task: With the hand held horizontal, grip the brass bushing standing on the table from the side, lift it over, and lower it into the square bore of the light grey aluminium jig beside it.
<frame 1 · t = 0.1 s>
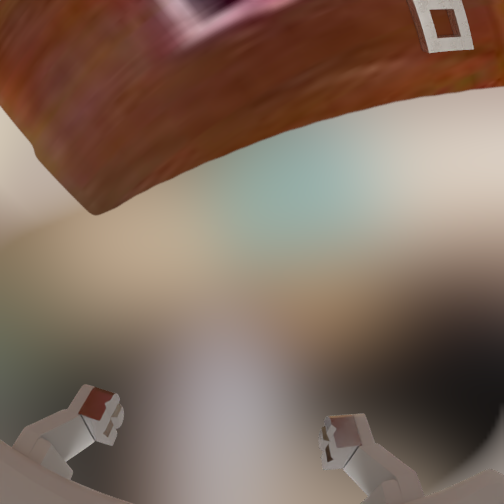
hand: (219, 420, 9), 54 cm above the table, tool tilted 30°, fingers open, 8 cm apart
aluminium jig: (438, 21, 31), on the table
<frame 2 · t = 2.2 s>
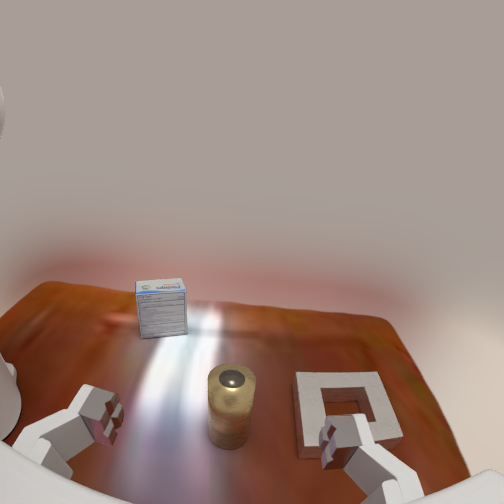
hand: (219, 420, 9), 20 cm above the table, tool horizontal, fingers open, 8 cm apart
brass bushing: (228, 434, 28), on the table
medicine box: (163, 331, 46), on the table
aluminium jig: (340, 418, 31), on the table
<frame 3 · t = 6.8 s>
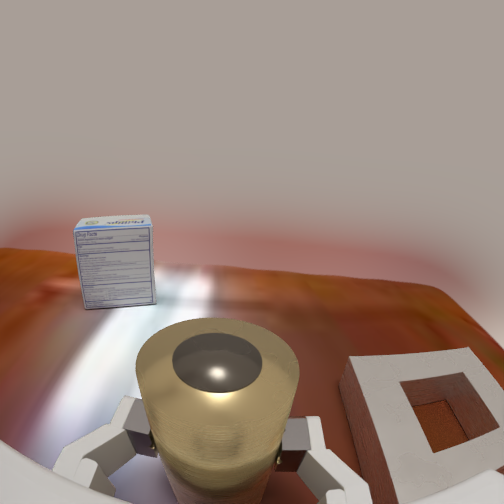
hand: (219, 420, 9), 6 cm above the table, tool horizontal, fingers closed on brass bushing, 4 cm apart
brass bushing: (218, 492, 11), on the table, touching gripper
medicine box: (120, 300, 28), on the table
aluminium jig: (431, 434, 13), on the table
when the fingers open (8 cm above the table, at t = 12.3 s): brass bushing drops 1 cm, resting in aluminium jig.
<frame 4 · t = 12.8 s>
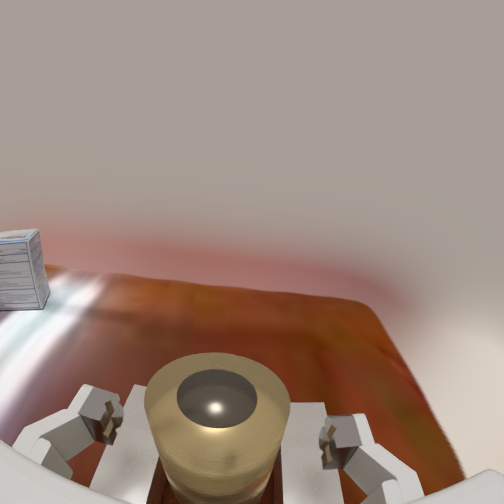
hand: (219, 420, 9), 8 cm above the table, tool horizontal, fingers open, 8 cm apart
brass bushing: (218, 501, 11), resting in aluminium jig
medicine box: (22, 304, 26), on the table
aluminium jig: (218, 500, 11), on the table
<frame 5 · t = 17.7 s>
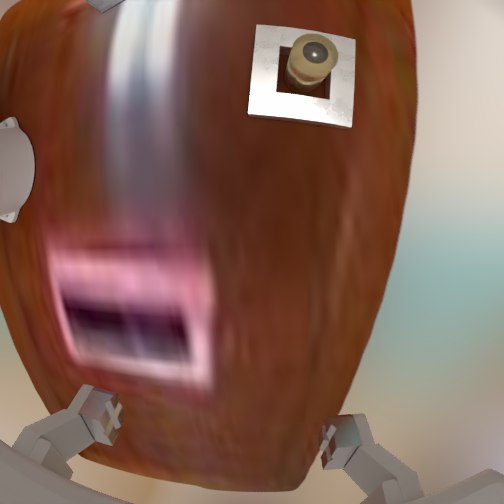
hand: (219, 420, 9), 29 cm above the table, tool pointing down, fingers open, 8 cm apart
brass bushing: (301, 78, 30), resting in aluminium jig
aluminium jig: (301, 78, 30), on the table
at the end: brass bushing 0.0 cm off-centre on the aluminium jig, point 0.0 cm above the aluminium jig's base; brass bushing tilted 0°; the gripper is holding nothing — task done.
